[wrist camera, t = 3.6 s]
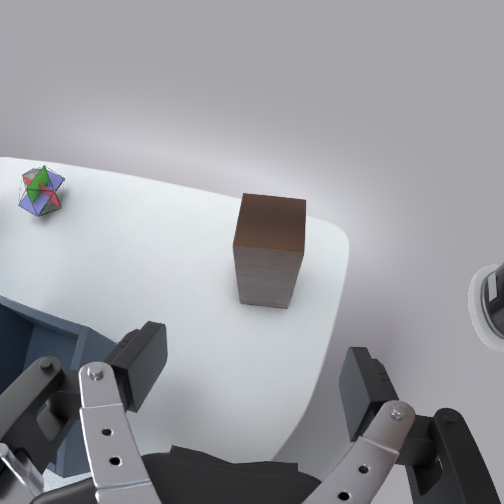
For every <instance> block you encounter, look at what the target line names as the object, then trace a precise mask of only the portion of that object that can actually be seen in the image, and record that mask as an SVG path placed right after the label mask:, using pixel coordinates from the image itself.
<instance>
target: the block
mask: <svg viewBox="0 0 504 504" xmlns="http://www.w3.org/2000/svg"><path fill="white" fill-rule="evenodd" d="M305 222H306V200H302V199H294V198H285V197H276V196H267V195H257V194H246V193H243V197H242V202H241V207H240V211H239V216H238V221H237V226H236V231H235V236H234V241H233V254H234V262H235V270H236V277H237V285H238V293H239V300H240V303H242V304H250V305H258V306H267V307H276V308H285V309H287V308H288V305H289V302H290V299H291V296H292V293H293V289H294V286H295V283H296V280H297V276H298V273H299V270H300V266H301V263H302V260H303V256H304V246H305Z"/></svg>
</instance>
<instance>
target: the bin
mask: <svg viewBox="0 0 504 504" xmlns="http://www.w3.org/2000/svg"><path fill="white" fill-rule="evenodd" d="M115 346H117V343H115V342H113V341H111V340H110V339H108V338H106V337H105V336H103V335H101V334H99V333H98V332H96V331H94V330H93V329H91V328H89V327H86V326H83V325H80V324H77V323H73V322H70V321H67V320H64V319H61V318H58V317H55V316H52V315H50V314H47V313H44V312H41V311H38V310H36V309H33V308H30V307H28V306H25V305H23V304H20V303H18V302H15V301H13V300H10V299H8V298H5V297H3V296H1V295H0V395H1V394H2V393H3V392H4V391H5V390H6V389H7V388H8V387H9V386H10V385H11V384H12V383H13V382H14V381H15V380H16V379H17V378H18V377H19V376H20V375H21V374H22V373H23V372H24V371H25V370H26V369H27V368H28V367H29V366H30V365H31V364H32V363H33V362H35V361H36V360H37V359H39V358H41V357H45V356H53V357H56V358H58V359H59V360H60V361H61V363H62V366H63V369H69V370H78V371H79V370H80V369H81V367H83V366H84V365H85V364H88V363H91V362H102V361H103V360H104V358H105V357H106V356H107V355H108V354H109V353H110V352H111V351H112V350H113V349H114V347H115ZM46 406H47V404H46V402H45V403H44V405H43V406H42V407H41V408H40V410H39V411H38V413H37V417H38V416H39V415H40V414H41V412H42V411H43V410H44V409H45V407H46ZM47 469H49V470H50V471H52V472H53V473H55V474H57V475H59V476H60V477H62V478H66V477H71V476H75V475H79V474H83V473H87V472H91V469H90V465H89V460H88V456H87V451H86V446H85V441H84V435H83V429H82V423H81V420H77V421H76V423H75V424H74V426H73V427H72V429H71V430H70V432H69V433H68V435H67V436H66V438H65V439H64V441H63V442H62V444H61V445H60V447H59V449H58V450H57V452H56V453H55V455H54V456H53V458H52V460H51V461H50V463H49V464H48V466H47Z"/></svg>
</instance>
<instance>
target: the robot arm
mask: <svg viewBox="0 0 504 504" xmlns="http://www.w3.org/2000/svg"><path fill="white" fill-rule="evenodd" d="M480 299H481V306H482V311H483V314H484V317H485V320H486V322H487V324H488V326H489V327H490V329H491V330H492V331H493V333H494V334H495V335H497V336H498V337H499V338H501V339H504V263H502V264H501V265H500V266H499V267H498V268H497V269H495V270H494V271H492V272H491V273H490V274H488V275H487V276H486V277H485V279H484V280H483V283H482V286H481V293H480ZM167 355H168V352H167V336H166V326H165V324H162V323H157V322H152V321H148V322H147V323H146V324H145V325H144V326H143V327H142V328H141V329H140V330H138V329H136V330H134V331H132V332H130V333H128V334H126V336H125V337H124V338H123V339H122V341H120V342H119V343H118V344H117V346H115V347H114V349H113V350H112V351H111V352H110V353H109V354H108V355H107V356H106V357H105V358H104V360H103V361H102V362H91V363H88V364H85V365H84V366H83V367H81V369H80V370H79V371H78V370H69V369H63V366H62V363H61V361H60V360H59V359H58V358H56V357H53V356H45V357H41V358H39V359H37V360H36V361H35V362H33V363H32V364H31V365H30V366H29V367H28V368H27V369H26V370H25V371H24V372H23V373H22V374H21V375H20V376H19V377H18V378H17V379H16V380H15V381H14V382H13V383H12V384H11V385H10V386H9V387H8V388H7V389H6V390H5V391H4V392H3V393H2V394H1V395H0V504H370V503H371V501H372V500H373V498H374V497H375V495H376V494H377V492H378V491H379V489H380V487H381V486H382V484H383V482H384V481H385V479H386V477H387V476H388V474H389V472H390V471H391V469H392V467H393V465H394V464H399V465H405V468H406V472H407V476H408V481H409V485H410V489H411V495H412V500H413V504H501V502H500V500H499V497H498V494H497V492H496V489H495V486H494V484H493V481H492V479H491V476H490V474H489V471H488V469H487V467H486V465H485V462H484V460H483V458H482V456H481V453H480V451H479V449H478V447H477V445H476V442H475V440H474V438H473V436H472V434H471V432H470V430H469V428H468V426H467V424H466V422H465V420H464V418H463V417H462V415H461V414H460V413H459V412H457V411H456V410H454V409H450V408H442V409H439V410H438V411H437V412H436V413H435V415H434V416H433V417H427V416H420V415H416V414H415V411H414V409H413V408H412V407H411V406H410V405H409V404H407V403H405V402H403V401H399V398H398V397H397V394H396V392H395V389H394V387H393V385H392V383H391V381H390V378H389V376H388V375H387V372H386V370H385V368H384V366H383V365H382V364H381V363H380V362H379V361H378V360H377V359H371V356H370V354H369V352H368V350H367V348H365V347H350V348H349V349H348V351H347V354H346V357H345V361H344V364H343V367H342V371H341V374H340V378H339V389H340V394H341V398H342V403H343V407H344V412H345V417H346V422H347V427H348V431H349V436H350V442H355V443H354V444H353V446H352V447H351V448H350V449H349V451H348V452H347V453H346V455H345V456H344V457H343V458H342V459H341V461H340V462H339V463H338V465H337V466H336V467H335V468H334V469H333V470H332V472H331V473H330V474H329V475H328V476H327V477H326V478H325V479H324V481H323V482H322V481H320V480H318V479H317V478H315V477H313V476H310V475H308V474H305V473H302V472H298V464H297V463H283V462H269V461H264V462H253V463H238V464H233V463H229V462H226V461H224V460H221V459H218V458H216V457H213V456H211V455H208V454H206V453H203V452H200V451H195V450H191V449H186V448H182V447H178V446H174V445H172V447H171V449H170V452H169V453H152V454H147V455H143V456H140V454H139V451H138V448H137V446H136V443H135V440H134V438H133V435H132V432H131V429H130V426H129V423H128V420H127V417H126V414H125V413H126V411H127V410H129V411H132V412H135V413H137V412H138V410H139V408H140V407H141V405H142V403H143V402H144V400H145V398H146V396H147V395H148V393H149V391H150V390H151V388H152V386H153V385H154V383H155V381H156V380H157V378H158V376H159V375H160V373H161V371H162V370H163V368H164V366H165V364H166V361H167ZM45 402H46V404H47V406H46V407H45V409H44V410H43V411H42V412H41V414H40V415H39V416H38V417H37V413H38V411H39V410H40V408H41V407H42V406H43V405H44V403H45ZM77 420H81V423H82V429H83V435H84V441H85V446H86V451H87V456H88V460H89V465H90V469H91V473H92V477H89V478H87V479H84V480H81V481H79V482H76V483H73V484H70V485H67V486H64V487H61V488H58V489H54V490H51V491H48V492H45V493H44V491H43V488H44V479H43V476H42V474H43V473H44V471H45V469H46V468H47V466H48V464H49V463H50V461H51V460H52V458H53V456H54V455H55V453H56V452H57V450H58V449H59V447H60V445H61V444H62V442H63V441H64V439H65V438H66V436H67V435H68V433H69V432H70V430H71V429H72V427H73V426H74V424H75V423H76V421H77ZM439 459H440V461H439ZM440 462H441V464H440ZM441 465H442V467H441ZM442 468H443V470H442Z"/></svg>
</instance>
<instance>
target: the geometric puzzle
mask: <svg viewBox="0 0 504 504" xmlns="http://www.w3.org/2000/svg"><path fill="white" fill-rule="evenodd" d="M39 168H40V167H39ZM47 168H48V167H47ZM50 170H51V169H50ZM53 172H54V171H53ZM22 176H23V181H24V184H25V185H26V186H27V188H26V186H25V188H26V189H25V191H27V194H26V195H25V197H24V198H23V200H22V201H20V203H19V205H18V206H20V207H22V208H24V209H25V210H27V211H29V212H30V213H32V214H34V215H36V216H37V217H38V216H41V215H40V214H41V213H42V211H43V210H44V208H45V207H46V205H47V204H48V202H50V203H52V204H54V205H56V206H57V207H59V208H60V209H61V207H60V204H59V201H58V199H57V196H56V192H55V191H57V190H58V189H57V188H59V187H60V185H61V184H62V182H63V181H65V180H64V179H65V178H63V177H62V176H59V174H58V175H56V174H54V173H52V172H50V171H48V170H46V167H45V165H44V166H43V168H42V169H38V168H37V169H31V170H30V171H28V172H26V173H25V174H23V175H22ZM21 182H22V181H21ZM63 188H64V187H63ZM20 189H21V188H20ZM24 193H25V192H24ZM23 195H24V194H23ZM62 195H63V194H62ZM19 197H20V196H19ZM22 197H23V196H22ZM21 199H22V198H21ZM61 203H62V202H61ZM57 210H58V209H57ZM54 211H55V210H54ZM51 212H52V211H51ZM48 213H49V212H48ZM45 214H46V213H45ZM42 215H44V214H42Z"/></svg>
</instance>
